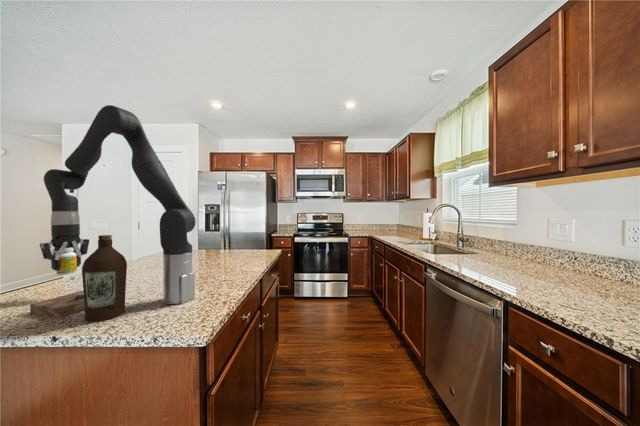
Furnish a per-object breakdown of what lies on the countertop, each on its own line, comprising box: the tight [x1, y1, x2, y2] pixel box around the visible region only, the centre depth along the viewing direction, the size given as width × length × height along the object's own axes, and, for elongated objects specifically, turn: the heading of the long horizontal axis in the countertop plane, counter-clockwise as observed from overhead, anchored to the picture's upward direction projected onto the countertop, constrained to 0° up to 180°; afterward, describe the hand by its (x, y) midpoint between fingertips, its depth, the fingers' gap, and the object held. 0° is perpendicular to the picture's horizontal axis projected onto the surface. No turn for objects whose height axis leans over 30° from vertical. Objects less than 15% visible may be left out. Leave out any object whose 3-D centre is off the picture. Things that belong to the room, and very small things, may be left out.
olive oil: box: [81, 234, 128, 323], centre depth 77 cm, size 11×11×25 cm
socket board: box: [29, 290, 85, 319], centre depth 84 cm, size 14×14×3 cm
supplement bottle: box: [56, 247, 78, 276], centre depth 94 cm, size 5×5×10 cm
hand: (66, 268), depth 94 cm, fingers closed on supplement bottle, 5 cm apart
